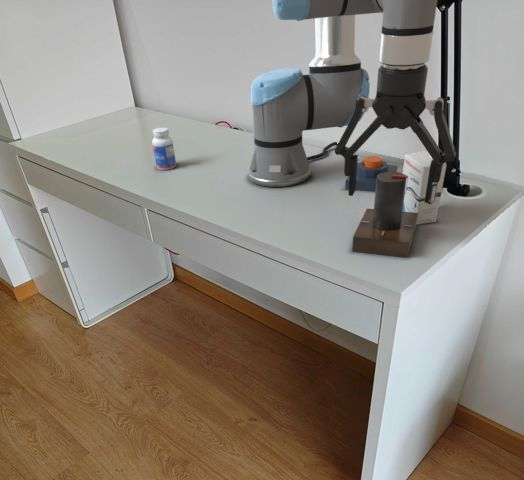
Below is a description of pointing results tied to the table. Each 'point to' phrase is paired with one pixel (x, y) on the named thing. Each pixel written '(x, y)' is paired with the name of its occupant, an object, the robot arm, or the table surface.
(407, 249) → the block
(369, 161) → the button
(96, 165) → the table surface
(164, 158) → the pill bottle
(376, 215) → the dial knob
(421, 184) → the ink box
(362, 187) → the button box
